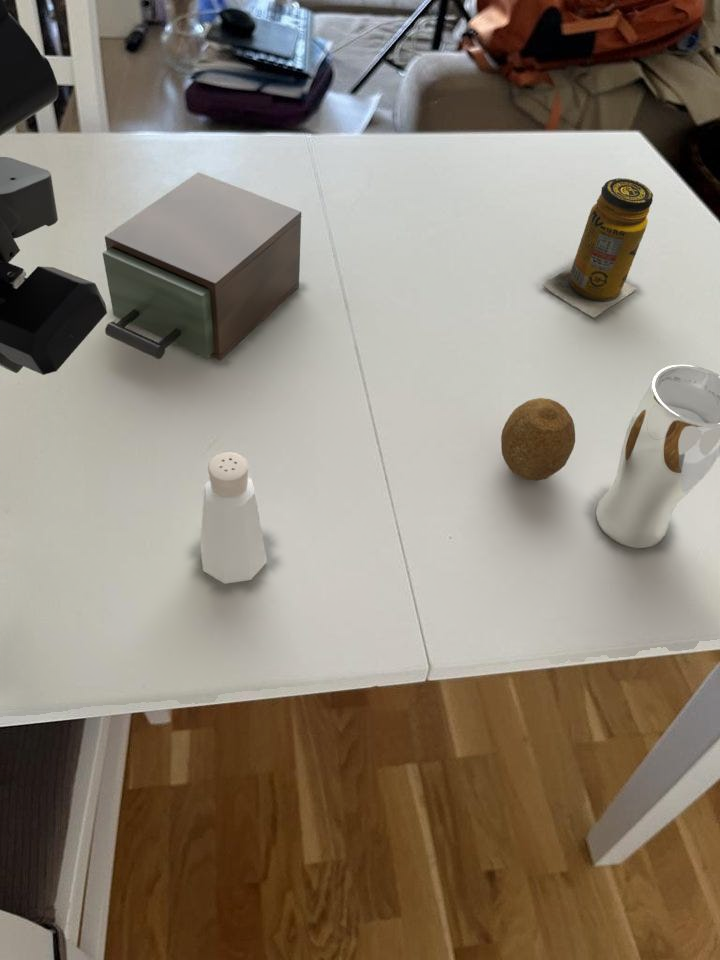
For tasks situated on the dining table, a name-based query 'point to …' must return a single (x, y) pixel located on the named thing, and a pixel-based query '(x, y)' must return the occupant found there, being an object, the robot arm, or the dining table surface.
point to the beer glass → (663, 454)
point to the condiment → (606, 248)
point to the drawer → (157, 306)
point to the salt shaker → (231, 522)
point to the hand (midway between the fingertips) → (17, 366)
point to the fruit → (538, 439)
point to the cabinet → (220, 250)
